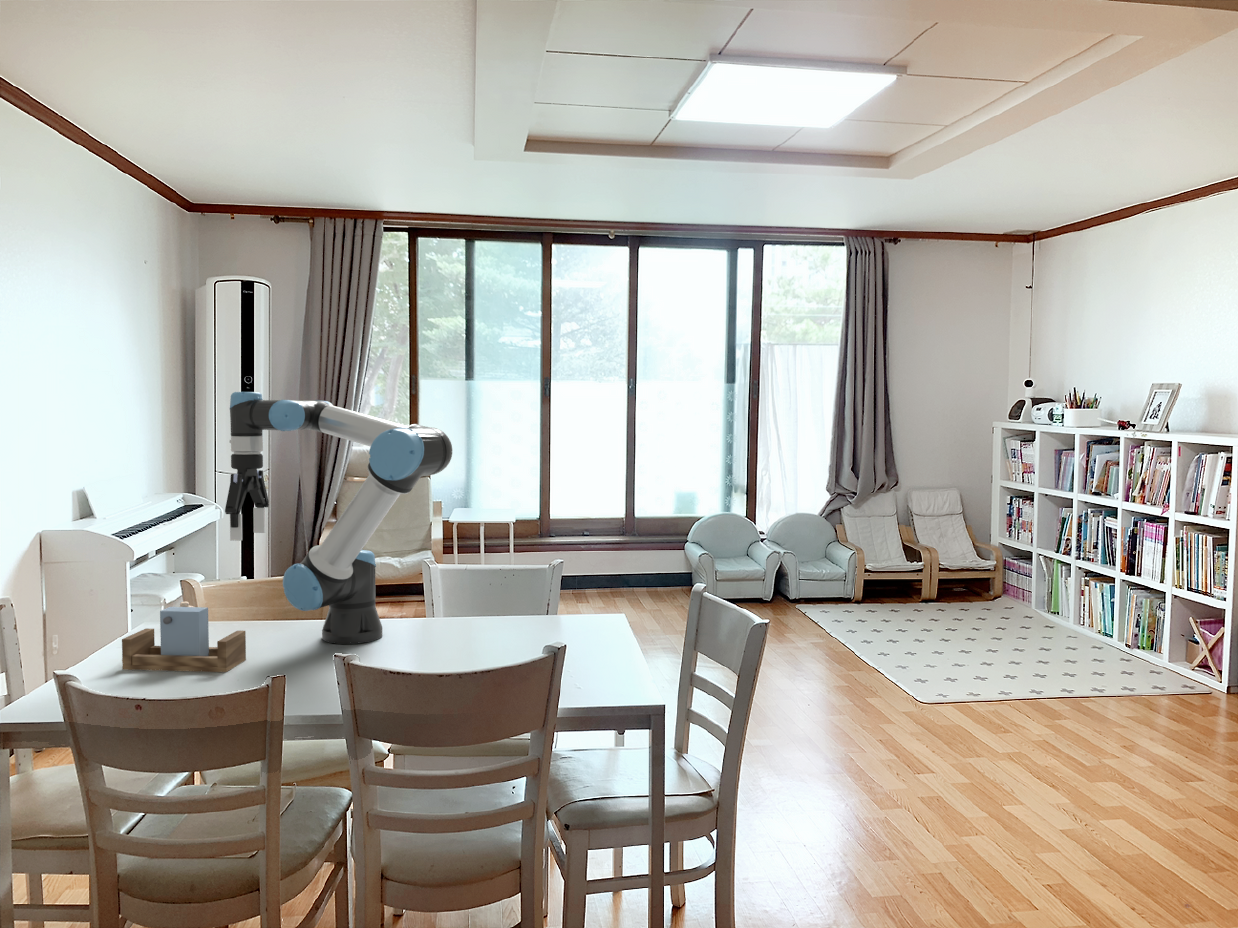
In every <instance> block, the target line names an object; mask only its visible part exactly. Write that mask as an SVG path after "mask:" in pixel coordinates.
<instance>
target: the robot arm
mask: <svg viewBox="0 0 1238 928" xmlns="http://www.w3.org/2000/svg"><path fill="white" fill-rule="evenodd" d="M229 401H230V403H229V404H230V405H229V416H230V439H229V443H230V451H231V452H232V454H231V455H230V467H231V469H233V470H236V473H231V474H230V480H229V482H230V483H229V487H228V492H227V498H226V503H225V508H224V512H225V515H229V540H230V541H235V542H236V541H238V542H239V541H240V542H241V541H243V513H241V511H242V507H243V505H244V502H245V499H246V496H247V493H249V495H250V497H251V500H252V502H253V504H254V506H255V507H253V512H252V513H253V533H255V534H265V533H266V508H269V506H270V504H269V502H270V500H269V497H268V493H267V487H266V484H265V479H264V471H263V469H262V468H263V467H264V455H263V454H262V453H261V452H263V451H264V442H263V441H264V438H263V432H264V430H265V431H281V432H291V431H297V430H298V431H299V430H304V431H305V430H310V431H311V430H312V431H315V432H319V433H323V434H327V435H330V436H332V437H336V438H340V439H344V440H346V441H350V442H354V443H357V444H359V445H364V446H367V447H370V448H369V450H368V451H369V452H368V455H370V457H369V458H368V464H367V472H368V476H367V477H366V479H365V480H364V482H363V483H362V484H361V486H360V487H359V489H358V491H357V492H356V493H355V495H354V496H353V497H352V499H351V501H350V502H349V503H348V505H347V506H346V508H345V510H344V511H343V512H342V513H341V516H340V517H339V518H338V520H337V522H336V523H335V524H334V525H333V527H332V528H331V529H330V532H328V534H327V536H326V537H325V539H324V540H323V541H322V543H321V544H320V545H318V544H317V545H314V546H313V547H311V548H310V549H309V551H308V553H307V554H306V555H305V557H304V558H303V560H301V562H300V563H294V564H292V565H291V566H289V567H288V568H287V569H286V570H285V571H284V574H283V576H282V577H283V578H282V587H283V592H284V595H285V598H286V600H287V601H288V602H289V604H290V605H291V606H292V607H294V608H295V609H297V610H298V611H303V612H308V611H316V610H318V609H321V608H324V607H328V611H327V615H326V617H325V620H324V623H323V627H322V630H321V631H322V632H321V639H322V641H324V642H326V643H331V644H335V645H336V644H337V645H339V644H340V645H353V644H354V645H356V644H363V643H369V642H372V641H373V642H374V641H376V640H379V639H380V638H381V639H382V637H383V625H382V621H381V619H380V616H379V614H378V610H377V606H376V567H377V564H376V555H375V553H374V552H373V551H371V550H368V549H363V548H364V547H365V546H366V545H367V543H368V541H369V540H370V539H371V537H372V536H373V535H374V533H375V532H376V530H377V529H378V527H379V526H380V524H381V523H382V522H383V520H384V518H385V517H386V516H387V514H388V513H389V511H390V510H391V508H392V507H393V506H394V504H395V503H396V501H397V500H398V499H399V497H400V496H401V495H407V494H409V493H411V492H412V490H413V489H414V487H415V485H416V484H417V482H418V481H419V480H420V479H421V478H422V477H426V476H433V475H436V474H439V473H441V472H443V471H444V470H445V469H446V468H447V467H448V465H449V464H450V462H451V460H452V456H453V446H452V445H453V444H452V442H451V440H450V437H448V435H447V434H446V433H445V432H444V431H442V430H441V429H438V428H436V427H429V426H424V425H421V424H418V423H413V424H410V425H405V424H401V423H398V422H394V421H391V420H386V419H384V418H381V417H376V416H373V415H369V414H366V413H365V414H364V413H361V412H358V411H354V410H350V409H347V408H343V407H340V406H335V405H333V403H332V402H330V401H327V400H320V399H314V400H303V399H301V400H299V399H298V400H296V399H293V400H291V399H266V400H265V399H264V398H263V395H262V393H261V392H259V391H234V392H232V393H231V394H230V400H229Z"/></svg>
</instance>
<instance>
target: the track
mask: <svg viewBox="0 0 1238 928" xmlns="http://www.w3.org/2000/svg"><path fill="white" fill-rule="evenodd" d="M246 633H247V632H246V630H236V631H234V632H232V633H231V634H228V635H227V636H224V637H223V638H221V639H219V640H217V642H216V646H217V647H216V646H215V647H213V646H209V656H181V655H161V645H155V628H144V629H141V630H140V631H137V632H134V633H133V634H131V635H127V636H125V637H123V638H122V639H121V656H122V657H121V658H122V659H121V661H122V663H121V666H122V670H125V671H126V670H128V671H129V670H130V671H161V672H162V671H166V672H168V671H169V672H171V671H172V672H201V673H203V672H205V673H207V672H208V673H210V672H211V673H228V672H229V671H231V670H232V669H234V668H237V666H239V665H240V664H242V663H243V662H245V661H246V660H247V651H246V650H247V646H246V643H247V642H246V638H247V637H246Z"/></svg>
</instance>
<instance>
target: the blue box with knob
mask: <svg viewBox="0 0 1238 928" xmlns="http://www.w3.org/2000/svg"><path fill="white" fill-rule="evenodd" d="M159 619H160V621H159V622H160V623H159V624H160V625H159V626H160V629H159V630H160V631H159V632H160V646H161V655H181V656H209V647H210V646H209V644H210V643H209V642H210V640H209V638H210V637H209V634H210V633H209V607H205V606H204V607H197V606H193V607H179V606H169V607H167V608H164V609H161V610H160V611H159Z"/></svg>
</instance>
